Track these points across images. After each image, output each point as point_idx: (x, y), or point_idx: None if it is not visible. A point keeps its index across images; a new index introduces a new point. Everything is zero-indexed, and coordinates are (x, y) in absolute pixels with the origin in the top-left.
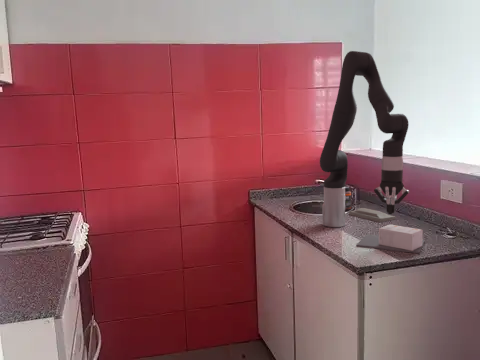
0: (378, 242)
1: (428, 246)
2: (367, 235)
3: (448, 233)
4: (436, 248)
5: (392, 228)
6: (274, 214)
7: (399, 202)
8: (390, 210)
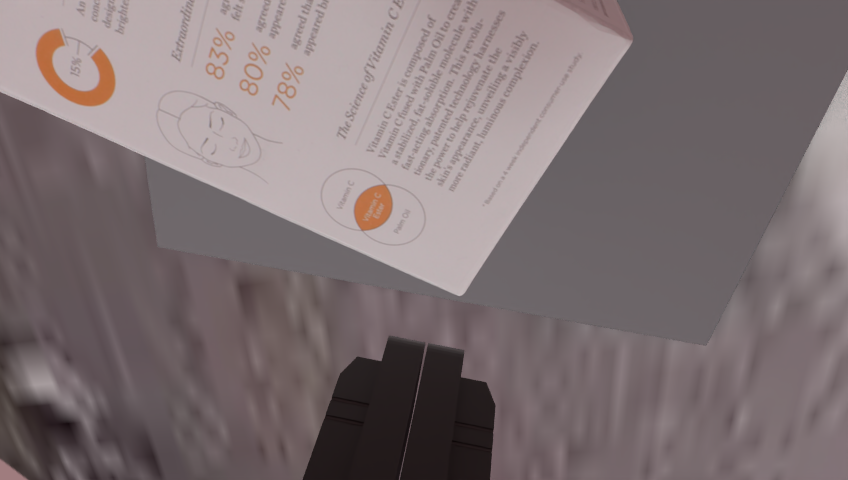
0: None
1: None
2: (703, 304)
3: (72, 439)
4: None
5: (403, 59)
6: None
7: None
8: (411, 391)
